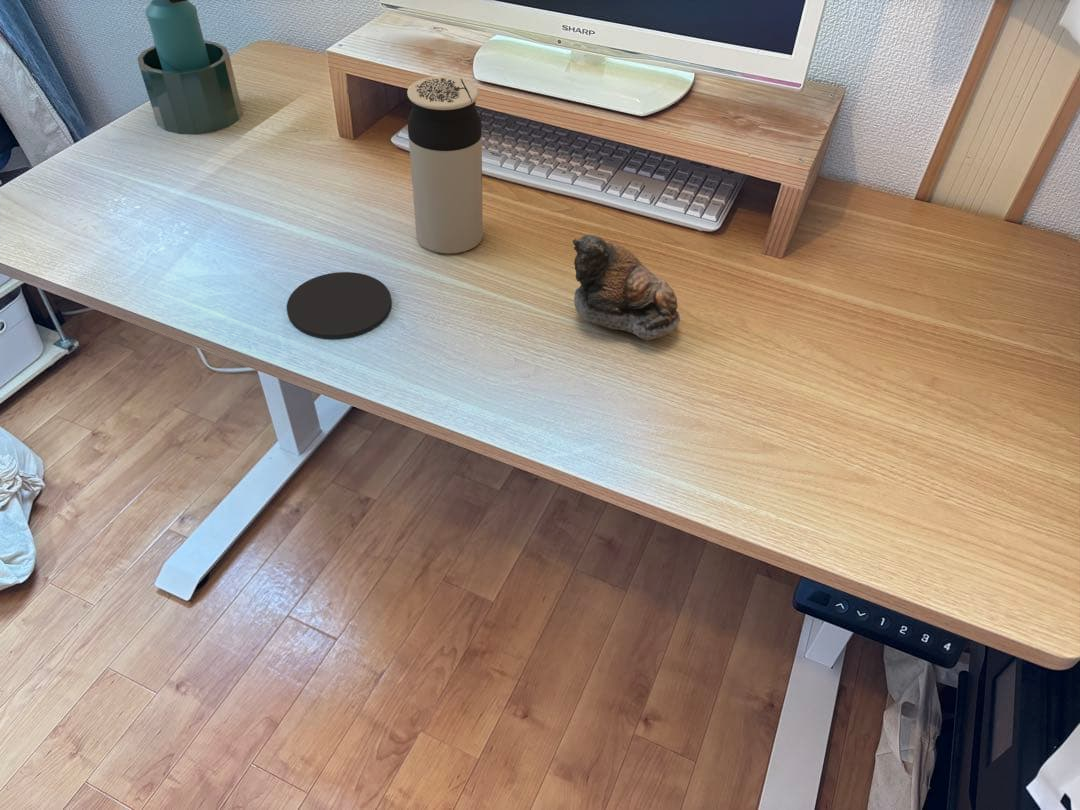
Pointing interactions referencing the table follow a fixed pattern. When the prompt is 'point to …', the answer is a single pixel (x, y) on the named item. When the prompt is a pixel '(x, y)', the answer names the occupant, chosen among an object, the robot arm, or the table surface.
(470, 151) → the travel mug
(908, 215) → the table surface
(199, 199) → the table surface
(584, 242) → the bison figurine
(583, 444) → the table surface
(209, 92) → the pot
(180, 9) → the beverage bottle
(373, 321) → the coaster
